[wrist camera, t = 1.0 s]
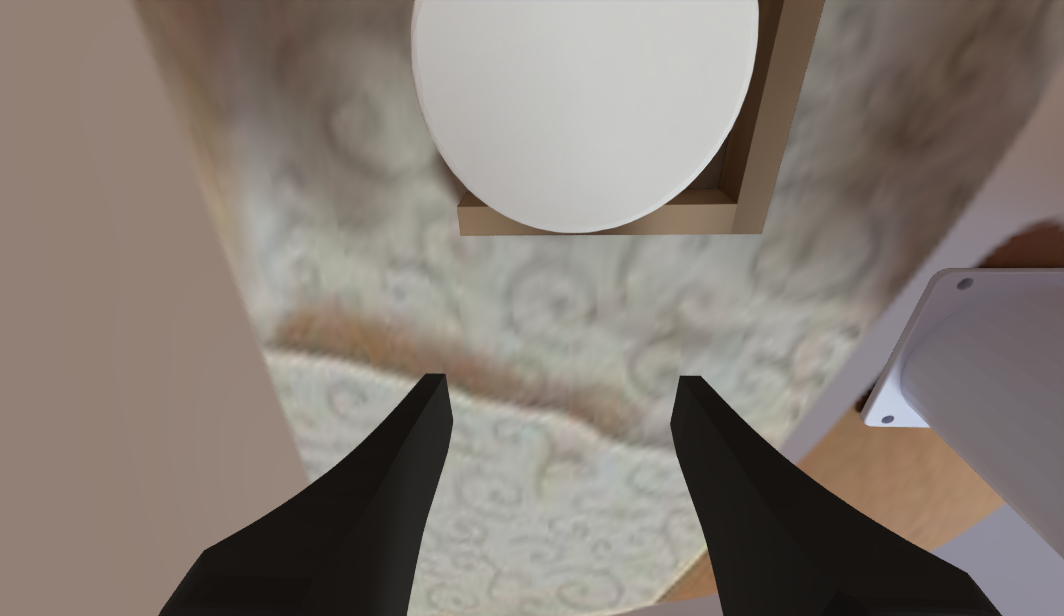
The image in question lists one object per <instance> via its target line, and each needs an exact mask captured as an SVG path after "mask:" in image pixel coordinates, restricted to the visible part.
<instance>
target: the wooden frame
mask: <svg viewBox="0 0 1064 616" xmlns="http://www.w3.org/2000/svg"><path fill="white" fill-rule="evenodd" d="M824 2H825V0H758V9H759V20H758V40H757V49H756V55H755V61H754V67H753V72H752V76H751V80H750V83H749V87H748V90H747V93H746V96H745V98H744V101H743V104H742V106H741V109H740V112H739V114H738V116H737V118H736V120H735V122H734V124H733V126H732V128H731V130H730V135H729V140H728V145H727V150H726V154H725V159H724V164H723V169H722V174H721V179H720V184H719V189H684V190H682V191H681V192H680V193H679V194H677V195H676V196H675V197H674V198H672V199H671V200H670V201H668V202H667V203H665V204H664V205H662V206H661V207H660V208H658V209H656V210H654V211H653V212H651V213H649V214H647V215H645V216H643V217H641V218H639V219H636V220H634V221H632V222H630V223H627V224H624V225H621V226H618V227H615V228H610V229H605V230H600V231H594V232H587V233H561V232H553V231H548V230H543V229H538V228H534V227H531V226H528V225H525V224H522V223H519V222H517V221H515V220H513V219H510V218H508V217H506V216H504V215H502V214H501V213H499V212H497V211H496V210H494V209H493V208H491V207H489V206H488V205H487V204H485V203H484V202H483V201H481V200H480V199H479V198H477V197H476V196H475V195H474V194H473V193H472V192H466V194H465V196H464V197H463V199H462V200H461V202H460V203H459V205H458V206H457V211H458V219H459V227H460V236H494V235H663V234H762V231H763V227H764V223H765V220H766V216H767V212H768V209H769V205H770V201H771V198H772V194H773V190H774V186H775V183H776V179H777V175H778V172H779V168H780V164H781V161H782V157H783V153H784V150H785V146H786V142H787V139H788V135H789V131H790V128H791V124H792V120H793V116H794V113H795V109H796V105H797V102H798V98H799V94H800V91H801V87H802V83H803V80H804V76H805V72H806V69H807V65H808V61H809V57H810V54H811V50H812V46H813V43H814V39H815V35H816V32H817V28H818V24H819V21H820V17H821V13H822V10H823V6H824Z"/></svg>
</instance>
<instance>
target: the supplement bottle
mask: <svg viewBox="0 0 1064 616" xmlns="http://www.w3.org/2000/svg"><path fill="white" fill-rule="evenodd" d="M758 20H759V9H758V0H414V4H413V10H412V18H411V66H412V73H413V80H414V87H415V91H416V95H417V99H418V103H419V106H420V110H421V113H422V116H423V119H424V121H425V124H426V127H427V129H428V131H429V133H430V135H431V137H432V139H433V141H434V143H435V145H436V147H437V149H438V151H439V153H440V154H441V156H442V157H443V159H444V160H445V162H446V163H447V165H448V166H449V168H450V169H451V170H452V172H453V173H454V174H455V175H456V176H457V178H458V179H459V180H460V181H461V182H462V183H463V184H464V185H465V187H466V188H467V189H468V190H469V191H471V192H472V193H473V194H474V195H475V196H476V197H477V198H479V199H480V200H481V201H483V202H484V203H485V204H487V205H488V206H489V207H491V208H493V209H494V210H496V211H497V212H499V213H501V214H502V215H504V216H506V217H508V218H510V219H513V220H515V221H517V222H519V223H522V224H525V225H528V226H531V227H534V228H538V229H543V230H548V231H553V232H561V233H587V232H594V231H600V230H605V229H610V228H615V227H618V226H621V225H624V224H627V223H630V222H632V221H634V220H636V219H639V218H641V217H643V216H645V215H647V214H649V213H651V212H653V211H654V210H656V209H658V208H660V207H661V206H662V205H664V204H665V203H667V202H668V201H670V200H671V199H672V198H674V197H675V196H676V195H677V194H679V193H680V192H681V191H682V190H684V189H685V188H686V187H687V186H688V185H689V184H690V183H691V182H692V181H693V180H694V179H695V178H696V177H697V176H698V175H699V174H700V173H701V171H702V170H703V169H704V168H705V167H706V166H707V165H708V163H709V162H710V161H711V159H712V158H713V157H714V155H715V154H716V153H717V151H718V150H719V148H720V146H721V145H722V143H723V142H724V140H725V138H726V137H727V135H728V133H729V132H730V130H731V128H732V126H733V124H734V122H735V120H736V118H737V116H738V114H739V112H740V109H741V106H742V104H743V101H744V98H745V96H746V93H747V90H748V87H749V83H750V80H751V76H752V72H753V67H754V61H755V55H756V49H757V40H758Z"/></svg>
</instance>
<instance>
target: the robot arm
mask: <svg viewBox="0 0 1064 616" xmlns="http://www.w3.org/2000/svg"><path fill="white" fill-rule="evenodd" d="M963 279H964V280H963ZM962 280H963V281H962ZM960 281H962V282H961V283H960V284H958V283H959V282H960ZM860 418H861V420H862V421H863V422H864V423H865V424H866V425H867V426H883V427H931V428H932V429H933V430H934V431H935V432H936V433H937V434H938V435H939V436H940V437H941V438H942V439H943V440H944V441H945V442H946V443H947V444H948V445H949V446H950V447H951V448H952V449H953V450H954V451H955V452H956V453H957V454H958V455H959V456H960V457H961V458H962V459H963V460H964V461H965V462H966V463H967V464H968V465H969V466H970V467H971V468H972V469H973V470H974V471H975V472H976V473H977V474H978V475H979V476H980V477H981V478H982V479H983V480H984V481H985V482H986V483H987V484H988V485H989V486H990V487H991V488H992V489H993V490H994V491H995V492H996V493H997V494H998V495H999V496H1000V497H1001V498H1002V499H1003V500H1004V501H1005V502H1006V503H1007V504H1008V505H1009V506H1011V507H1012V509H1014V511H1016V512H1017V514H1018V515H1020V516H1021V517H1022V518H1023V519H1024V520H1025V521H1026V522H1027V523H1028V524H1029V525H1030V526H1031V527H1032V528H1033V529H1034V530H1035V531H1036V532H1037V533H1038V534H1039V535H1040V536H1041V537H1042V538H1043V539H1044V540H1045V541H1046V542H1047V543H1048V544H1049V545H1050V546H1051V547H1052V548H1053V549H1054V550H1055V551H1056V552H1057V553H1058V554H1059V555H1060V556H1061V557H1062V558H1063V559H1064V268H948V269H943V270H941V271H939V272H937V273H936V274H935V275H934V276H933V277H932V278H931V279H930V281H929V283H928V285H927V287H926V289H925V291H924V293H923V294H922V297H921V298H920V300H919V302H918V304H917V306H916V308H915V310H914V312H913V314H912V316H911V317H910V320H909V321H908V323H907V325H906V327H905V329H904V331H903V333H902V335H901V337H900V339H899V340H898V342H897V344H896V346H895V348H894V350H893V352H892V354H891V356H890V358H889V360H888V362H887V364H886V365H885V367H884V369H883V371H882V373H881V375H880V377H879V379H878V381H877V383H876V385H875V387H874V389H873V390H872V392H871V394H870V396H869V398H868V400H867V402H866V404H865V406H864V408H863V410H862V412H861V413H860ZM452 426H453V416H452V410H451V404H450V398H449V392H448V386H447V381H446V375H445V374H425V375H424V376H423V377H422V378H421V379H420V381H419V382H418V383H417V384H416V385H415V386H414V387H413V389H412V390H411V391H410V392H409V393H408V394H407V396H406V397H405V398H404V399H403V400H402V401H401V402H400V403H399V405H398V406H397V407H396V408H395V409H394V410H393V411H392V412H391V413H390V414H389V415H388V416H387V418H386V419H385V420H384V421H383V422H382V423H381V424H380V425H379V426H378V427H377V428H376V429H375V430H374V431H373V432H372V433H371V434H370V435H369V436H368V437H367V438H366V439H365V440H364V441H363V442H362V443H361V444H359V445H358V446H357V447H356V448H355V449H354V450H353V451H352V452H351V453H350V454H348V455H347V456H346V457H345V458H344V459H343V460H341V461H340V462H339V463H338V464H337V465H336V466H334V467H333V468H332V469H331V470H329V471H328V472H327V473H326V474H324V475H323V476H321V477H320V478H319V479H317V480H316V481H315V482H313V483H312V484H311V485H309V486H308V487H307V488H305V489H304V490H303V491H301V492H300V493H298V494H297V495H296V496H294V497H293V498H291V499H290V500H288V501H287V502H285V503H284V504H282V505H281V506H279V507H278V508H276V509H274V510H273V511H271V512H270V513H268V514H267V515H265V516H263V517H262V518H260V519H259V520H257V521H255V522H254V523H252V524H250V525H249V526H247V527H245V528H243V529H242V530H240V531H238V532H236V533H235V534H233V535H231V536H229V537H228V538H226V539H224V540H222V541H220V542H219V543H217V544H215V545H213V546H211V547H209V548H208V549H206V550H204V551H203V553H202V554H201V555H200V556H199V558H198V559H197V560H196V562H195V563H194V564H193V566H192V567H191V568H190V570H189V571H188V573H187V574H186V576H185V577H184V579H183V580H182V581H181V583H180V584H179V586H178V587H177V589H176V590H175V591H174V593H173V594H172V596H171V597H170V599H169V600H168V602H167V603H166V604H165V606H164V607H163V609H162V610H161V612H160V614H159V615H158V616H407V611H408V605H409V600H410V595H411V590H412V584H413V579H414V574H415V569H416V564H417V559H418V555H419V550H420V545H421V540H422V536H423V532H424V528H425V524H426V521H427V517H428V514H429V511H430V508H431V504H432V501H433V498H434V495H435V492H436V488H437V485H438V482H439V479H440V476H441V472H442V469H443V466H444V463H445V459H446V456H447V453H448V448H449V443H450V438H451V432H452ZM670 426H671V431H672V436H673V441H674V445H675V450H676V454H677V458H678V461H679V464H680V467H681V469H682V472H683V475H684V478H685V481H686V484H687V487H688V490H689V492H690V495H691V498H692V501H693V504H694V507H695V510H696V512H697V515H698V518H699V521H700V524H701V527H702V530H703V533H704V537H705V540H706V543H707V547H708V551H709V556H710V560H711V564H712V568H713V572H714V576H715V580H716V585H717V589H718V594H719V598H720V602H721V607H722V611H723V616H1002V615H1001V614H1000V613H999V611H998V610H997V609H996V608H995V606H994V605H993V604H992V603H991V601H990V600H989V599H988V598H987V596H986V595H985V594H984V593H983V591H982V590H981V589H980V588H979V586H978V585H977V584H976V583H975V581H974V580H973V579H972V578H971V577H970V576H969V575H968V573H966V572H964V571H963V570H961V569H959V568H957V567H955V566H953V565H952V564H950V563H948V562H946V561H944V560H942V559H940V558H938V557H937V556H935V555H933V554H931V553H929V552H927V551H926V550H924V549H922V548H920V547H918V546H916V545H914V544H912V543H911V542H909V541H907V540H905V539H904V538H902V537H900V536H899V535H897V534H895V533H894V532H892V531H890V530H889V529H887V528H885V527H884V526H882V525H880V524H879V523H877V522H875V521H874V520H872V519H871V518H869V517H867V516H866V515H864V514H863V513H861V512H859V511H858V510H856V509H855V508H853V507H852V506H850V505H849V504H847V503H846V502H845V501H843V500H842V499H840V498H839V497H837V496H836V495H834V494H833V493H831V492H830V491H828V490H827V489H826V488H824V487H823V486H821V485H820V484H819V483H817V482H816V481H815V480H813V479H812V478H811V477H809V476H808V475H807V474H805V473H804V472H803V471H802V470H800V469H799V468H798V467H796V466H795V465H794V464H792V463H791V462H790V461H789V460H788V459H786V458H785V457H784V456H783V455H781V454H780V453H779V452H778V451H777V450H776V449H775V448H773V447H772V446H771V445H770V444H769V443H768V442H767V441H766V440H764V439H763V438H762V437H761V436H760V435H759V434H758V433H757V432H756V431H755V430H753V429H752V428H751V427H750V426H749V425H748V424H747V423H746V422H745V421H744V420H743V419H742V418H741V417H740V416H739V415H738V414H737V413H736V412H735V411H734V410H733V409H732V408H731V407H730V406H729V405H728V404H727V403H726V402H725V401H724V400H723V399H722V398H721V397H720V396H719V394H718V393H717V392H716V391H715V390H714V389H713V388H712V387H711V386H710V385H709V384H708V383H707V382H706V381H705V380H704V379H703V378H702V377H701V376H680V378H679V383H678V388H677V393H676V398H675V403H674V408H673V412H672V417H671V422H670Z"/></svg>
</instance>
